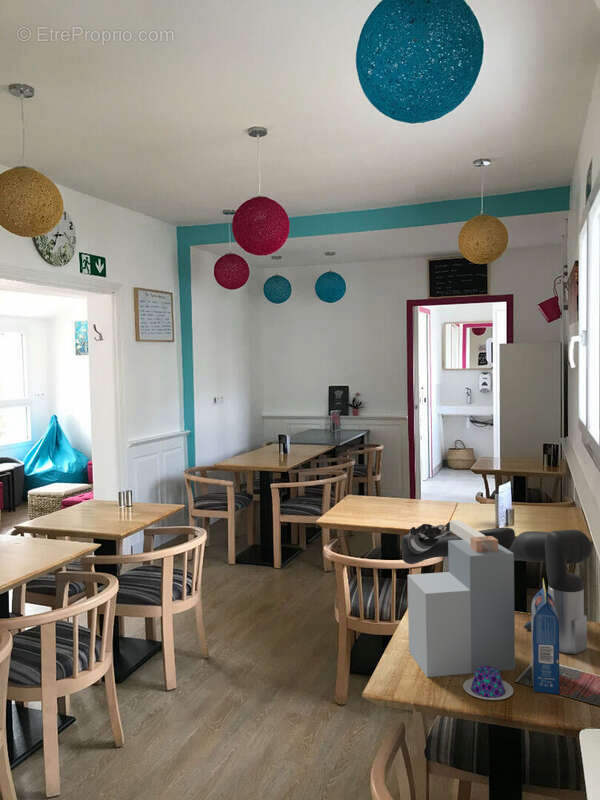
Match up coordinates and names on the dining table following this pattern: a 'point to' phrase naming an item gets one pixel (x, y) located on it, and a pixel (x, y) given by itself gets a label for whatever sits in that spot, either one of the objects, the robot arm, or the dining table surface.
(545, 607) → the blue food package
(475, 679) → the pudding
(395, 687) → the dining table surface
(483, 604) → the riser
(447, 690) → the dining table surface
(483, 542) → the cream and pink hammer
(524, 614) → the dining table surface
